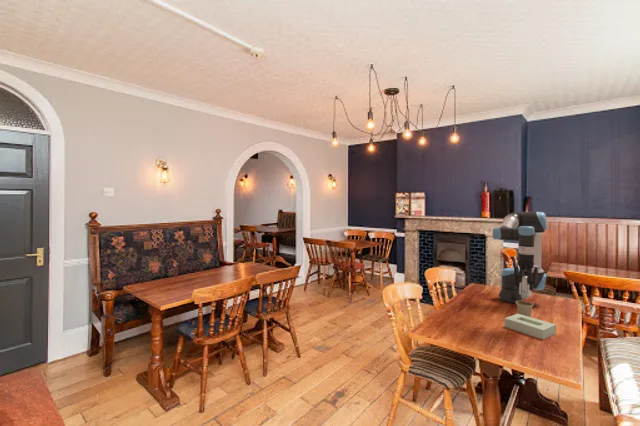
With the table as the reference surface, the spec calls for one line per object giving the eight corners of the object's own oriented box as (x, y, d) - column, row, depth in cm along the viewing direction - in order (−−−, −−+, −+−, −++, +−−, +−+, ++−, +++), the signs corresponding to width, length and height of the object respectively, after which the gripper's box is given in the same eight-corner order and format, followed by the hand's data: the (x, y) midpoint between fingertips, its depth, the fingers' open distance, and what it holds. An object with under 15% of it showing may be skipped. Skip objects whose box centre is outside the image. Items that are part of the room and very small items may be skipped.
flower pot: (513, 316, 198) (514, 303, 198) (517, 312, 205) (517, 299, 205) (531, 320, 192) (531, 306, 192) (534, 316, 199) (534, 302, 198)
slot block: (517, 321, 191) (517, 313, 190) (555, 333, 174) (556, 324, 173) (504, 326, 183) (504, 318, 183) (543, 339, 166) (543, 330, 166)
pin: (523, 296, 182) (523, 275, 182) (530, 297, 179) (530, 276, 179) (520, 297, 181) (520, 276, 180) (526, 298, 178) (527, 277, 177)
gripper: (507, 252, 185) (506, 292, 185) (538, 256, 170) (537, 299, 171) (514, 251, 188) (513, 290, 189) (545, 255, 174) (545, 297, 175)
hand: (525, 294), depth 180 cm, fingers closed on pin, 3 cm apart
